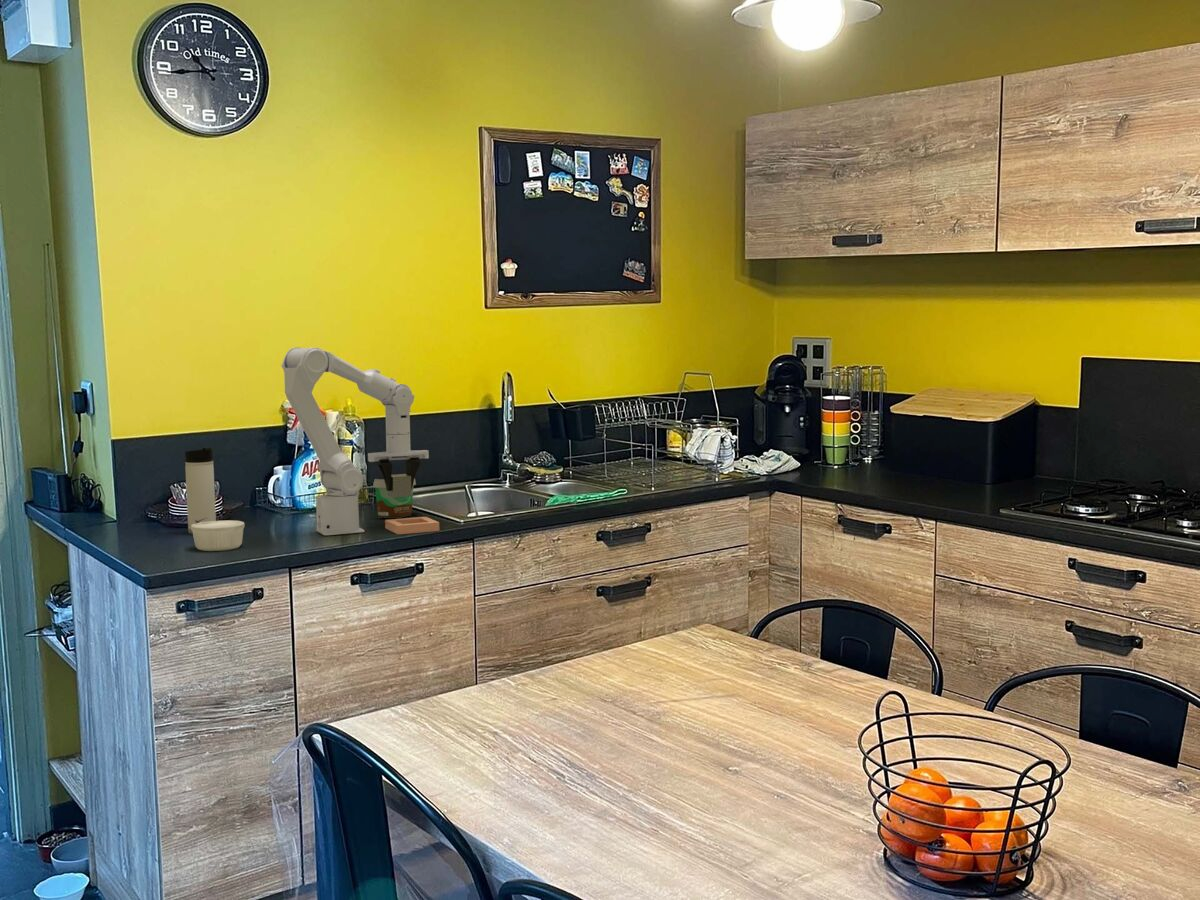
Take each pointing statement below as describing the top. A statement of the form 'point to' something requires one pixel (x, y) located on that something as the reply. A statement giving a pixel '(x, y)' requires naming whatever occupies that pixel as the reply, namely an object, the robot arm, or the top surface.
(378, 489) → the food container
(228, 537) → the ramekin
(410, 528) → the hole plate
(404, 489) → the steel block
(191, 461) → the travel mug
